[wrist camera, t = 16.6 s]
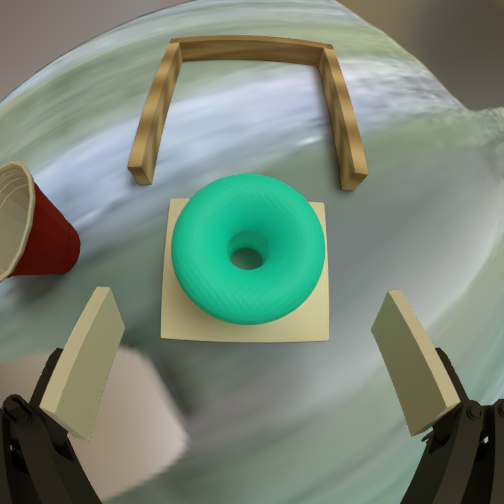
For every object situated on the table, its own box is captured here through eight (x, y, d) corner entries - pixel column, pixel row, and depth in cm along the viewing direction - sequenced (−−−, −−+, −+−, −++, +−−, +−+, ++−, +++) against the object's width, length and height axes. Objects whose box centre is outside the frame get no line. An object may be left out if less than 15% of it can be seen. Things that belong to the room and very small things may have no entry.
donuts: (234, 361, 14) (137, 226, 16) (236, 342, 24) (173, 258, 26) (361, 254, 16) (261, 141, 18) (318, 276, 26) (254, 199, 27)
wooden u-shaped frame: (354, 190, 29) (368, 174, 25) (139, 184, 28) (127, 167, 24) (325, 62, 34) (331, 44, 30) (175, 57, 33) (171, 38, 29)
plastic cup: (26, 288, 24) (-44, 271, 12) (44, 205, 27) (-14, 164, 15) (89, 307, 24) (11, 297, 13) (108, 210, 27) (49, 156, 15)
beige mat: (327, 339, 25) (328, 340, 24) (161, 337, 24) (160, 337, 24) (322, 204, 28) (323, 202, 28) (171, 200, 27) (170, 198, 27)
